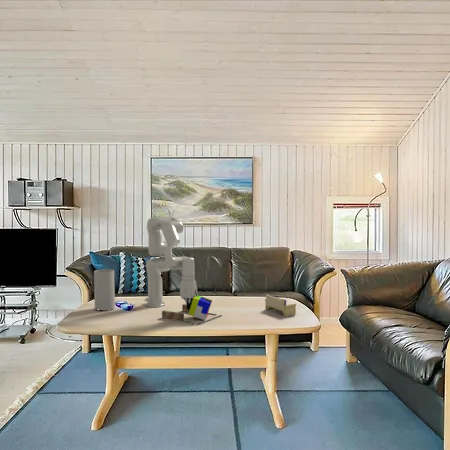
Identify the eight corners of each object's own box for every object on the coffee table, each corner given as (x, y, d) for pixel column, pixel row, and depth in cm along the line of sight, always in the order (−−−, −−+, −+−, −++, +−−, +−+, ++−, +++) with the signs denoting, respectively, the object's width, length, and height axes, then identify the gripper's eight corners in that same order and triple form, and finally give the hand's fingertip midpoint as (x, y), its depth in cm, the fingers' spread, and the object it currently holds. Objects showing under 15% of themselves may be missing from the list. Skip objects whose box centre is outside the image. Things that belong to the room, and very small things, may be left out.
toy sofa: (296, 314, 242) (296, 297, 242) (285, 316, 237) (285, 299, 237) (275, 307, 260) (275, 292, 260) (264, 309, 256) (264, 293, 255)
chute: (162, 317, 237) (161, 311, 237) (184, 310, 255) (184, 304, 255) (181, 321, 229) (181, 314, 229) (203, 313, 247) (203, 306, 246)
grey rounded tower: (113, 306, 269) (112, 268, 268) (116, 310, 258) (115, 271, 257) (93, 308, 263) (92, 270, 263) (96, 312, 252) (95, 272, 251)
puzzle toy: (204, 320, 230) (209, 303, 230) (188, 314, 231) (193, 298, 230) (207, 316, 240) (212, 300, 239) (191, 310, 241) (196, 295, 240)
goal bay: (182, 322, 228) (182, 321, 228) (205, 313, 247) (205, 312, 247) (199, 325, 221) (199, 324, 221) (221, 315, 240) (221, 315, 240)
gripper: (174, 278, 239) (175, 309, 239) (194, 280, 231) (195, 311, 231) (182, 276, 245) (183, 306, 246) (202, 278, 237) (203, 309, 237)
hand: (189, 309), depth 238 cm, fingers closed
